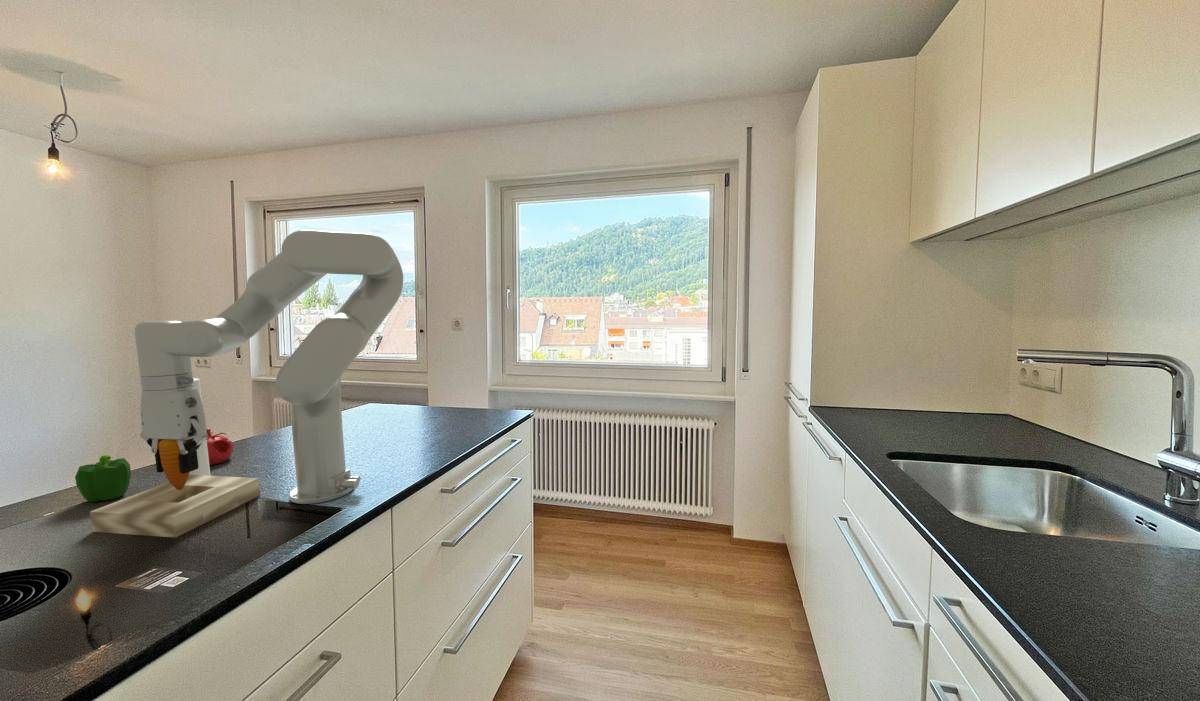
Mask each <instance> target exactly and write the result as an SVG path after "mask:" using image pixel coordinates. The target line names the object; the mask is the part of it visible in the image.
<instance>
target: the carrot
mask: <svg viewBox="0 0 1200 701" xmlns="http://www.w3.org/2000/svg"><path fill="white" fill-rule="evenodd" d="M185 442H186V445H187V444H188V443H189V440H186V441H185ZM159 453H160V459H161V464H162V467H163V470H164V475H165V477H166V479H167V480H168V482H170V483H171V484H172V485H173V486H174V487H175V488H176V489H177V490H182V489H183V488H184V485H185V483H186V481H187V479H188V476H189V473H190V472H188V473H185V474H181V473H180V467H179V458H178V455H180V454H181V452H180V449H179V446H178V443H177V440H164V439H162V440H161V441H160V442H159Z"/></svg>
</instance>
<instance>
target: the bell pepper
mask: <svg viewBox="0 0 1200 701" xmlns="http://www.w3.org/2000/svg"><path fill="white" fill-rule="evenodd" d="M111 458H112V457H111V456H110V455H108V454H104V455H101V456H100V457H99V461H97V462H96V463H94V464H93V463H90V464H84V465H80V466H79V467H78V469H77V472H76V473H75V476H74V477H75V484H76V487H77V488H78V491H79V493H80V494H81V496H82V497H83V498H84V500H86V501H88V502H90V503H94V502H100V501H111V500H115V499H118V498H121V497H123V496H124V495H125V494H126V492H127V490H128V489H129V487H130V482H131V478H132V477H131V475H132V472H131V464H130V463H129V462H128V461H127V459H126V458H124V457H122V458H117V459H114V460H113V459H112V460H111Z"/></svg>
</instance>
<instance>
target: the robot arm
mask: <svg viewBox="0 0 1200 701" xmlns="http://www.w3.org/2000/svg"><path fill="white" fill-rule="evenodd" d="M280 250H281V251H280V252H279V253H278V254H277V255H275V256H273V257H272V259H270V260H269V261H268V262H266V263H265V264H264V265H262V266H261V267H260V268H258V269H257V270H256V271H254V272H253V273H252V274H251V275H250V276H249V277H248V279H247V281H246V282H247V283H246V287H245V289H244V292H243V293H242V294H241V296H240V297H238V299H237V300H235V301H234V302H233V303H232V304H231V305H230V306H228V307H227V308H226V309H224V310H223V311H222V312H221V313H219V314H218V315H216V316H215V317H212V318H203V319H196V320H195V319H194V320H189V321H188V320H187V321H181V320H171V319H169V320H146V321H141V322H139V323H137V324H136V325H135V327H134V337H135V345H136V352H137V362H138V370H139V377H140V379H139V380H140V386H141V387H140V388H141V392H140V393H141V395H140V423H141V429H142V430H141V432H140V434H139V436H140V438H141V439H143V440H144V441H145V442H146V443H147V445H148V446H150V447H151V449H150V451H151V453H153V454H154V460H155V467H156V468H155V469H156V472H157V473H163V472H164V470H163V467H162V464H161V459H160V453H159V442H160V441H161V440H162V439H164V440H177V443H178V446H179V449H180V452H181V454H180V455H178V458H179V467H180V473H181V474H185V473H188V472H191V471H193V470H196V469H198V458H197V450H199V446H200V445H201V444H202V442H204V441H205V440H206V439H207V438H208V435H207V433H206V430H207V428H208V427H207V421H206V416H205V415H206V414H205V410H204V406H203V400H202V401H201V398H200V395H199V392H198V390H197V388H194V385H193V382H194V379H193V378H194V377H193V369H192V360H191V359H192V358H191V357H193V358H210V357H211V358H212V357H216V356H219V355H223V354H226V353H228V352H229V353H230V352H232V351H235V350H237V349H238V348H240V347H241V346H243V345H244V344H245V343H247V342H248V341H249V340H250V339H251V338H252V337H254V336H256V335H257V334H258V333H259V332H260V331H262V330H263V329H264V328H265V327H266V326H267V325H269V324H270V322H272V321H273V320H274V319H275V318H276V317H277V316H278V315H279V314H282V312H283V311H284V310H285V308H287V307H288V306H289V305H290V304H291V303H293V302H294V301H295V300H296V299H297V298H298V297H300V296H301V295H303V293H305V292H306V291H307V290H309V288H311V287H312V286H314V285H315V284H316V283H318V282H319V281H320V280H321V279H322V278H324V277H325V276H326V275H328V274H329V275H358V276H362V280H361V281H360V283H359V285H358V286H357V287H356V288H355V289H354V290H353V291H352V293H351V294H350V295H349V297H348V298H347V300H346V301H345V302H344V303H343V304H342V305H341V307H340V308H339V309H337V311H336V312H335V313H334V314H333V315H331V316H328V317H326V318H324V319H322V320H321V321H320V322H318V323H317V324H316V325H315V326H314V327H313V328H312V329H311V331H309V333H308V334H307V336H306V337H305V338H304V340H302V342H301V343H300V344H299V345H298V347H296V349H295V350H294V351H293V353H292V354H291V355H290V356H289V358H288V359H287V360H286V361H285V362H284V364H283V365H282V366H281V368H280V369H279V371H278V372H277V374H276V378H275V388H276V389H275V390H276V391H277V393H278V395H279V396H280V397H281V398H282V399H283V400H284V401H285V402H286V403H288V404H290V419H291V420H290V421H291V422H290V423H291V434H292V444H293V455H294V466H295V478H296V486H295V487H294V488H293V489H292V490H291V491H290V492H289V494H288V496H289V497H288V498H289V500H290V501H291V502H292V503H295V504H299V505H300V504H301V505H308V504H309V505H311V504H318V503H319V504H320V503H325V502H328V501H334V500H335V499H338V498H341V497H343V496H346V495H347V494H349V493H351V492H352V490H355V489H358V487H359V486H360V482H361V479H362V478H361V476H360V475H353V476H352V475H351V469H350V468H347V467H346V456H345V454H346V453H345V442H344V430H343V428H344V427H343V413H342V378H341V377H342V376H343V375H344V373H346V371H347V370H348V368H349V367H350V365H352V363H353V362H354V361H355V359H356V358H358V356H359V355H360V354H361V353H362V351H364V350H365V348H366V346H367V345H368V342H369V341H370V339H371V338H372V336H373V335H374V334H375V332H376V331H377V330H378V328H379V327H380V326H381V325H382V324H383V322H384V320H386V318H387V316H388V315H389V314H390V313H391V311H392V310H393V308H394V307H395V306H396V304H397V303H398V300H399V299H400V296H401V294H402V292H403V288H404V273H403V268H402V265H401V263H400V260H399V258H398V257H397V255H396V253H395V251H394V249H393V247H392V246H391V245H390V244H389V243H388V242H387V241H386V239H384V238H383V237H381V236H378V235H375V234H372V233H367V232H366V233H363V232H349V231H348V232H347V231H329V230H327V231H326V230H319V229H318V230H315V229H300V230H295V231H293V232H291V233H289V234H288V235H287V236H286V237H285V239H283V242H282V244H281V249H280ZM186 440H189V443H188V444H187V445H186V442H185V441H186ZM164 473H165V472H164Z"/></svg>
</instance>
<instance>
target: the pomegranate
mask: <svg viewBox="0 0 1200 701" xmlns="http://www.w3.org/2000/svg"><path fill="white" fill-rule="evenodd" d="M206 428H207V430H206V433H207V435H208V438H207V439H206V440H207V449H208V458H209V466H215V465H218V464H222V463H224V462H227V460H229V459H230V458H231V457H232V455H233V452H234V447H235V446H234V443H233V441H231V440H230V439H229V438H228V437H226V436H223V435H226V433H225V432H220V433H218V434H214V435H212V434H213V433H214V431H212V430H211V428H210V427H206Z"/></svg>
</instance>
